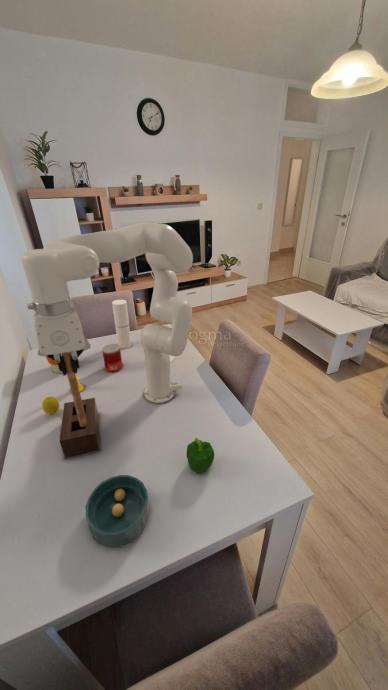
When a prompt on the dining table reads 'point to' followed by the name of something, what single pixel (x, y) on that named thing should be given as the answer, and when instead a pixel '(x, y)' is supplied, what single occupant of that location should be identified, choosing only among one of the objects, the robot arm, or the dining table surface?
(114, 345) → the canned food
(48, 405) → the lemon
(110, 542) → the bowl
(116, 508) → the dough ball
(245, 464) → the dining table surface
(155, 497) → the dining table surface
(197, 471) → the bell pepper
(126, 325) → the cylindrical container
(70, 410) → the stand
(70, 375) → the stirring stick
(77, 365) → the robot arm
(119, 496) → the dough ball
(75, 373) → the candle
